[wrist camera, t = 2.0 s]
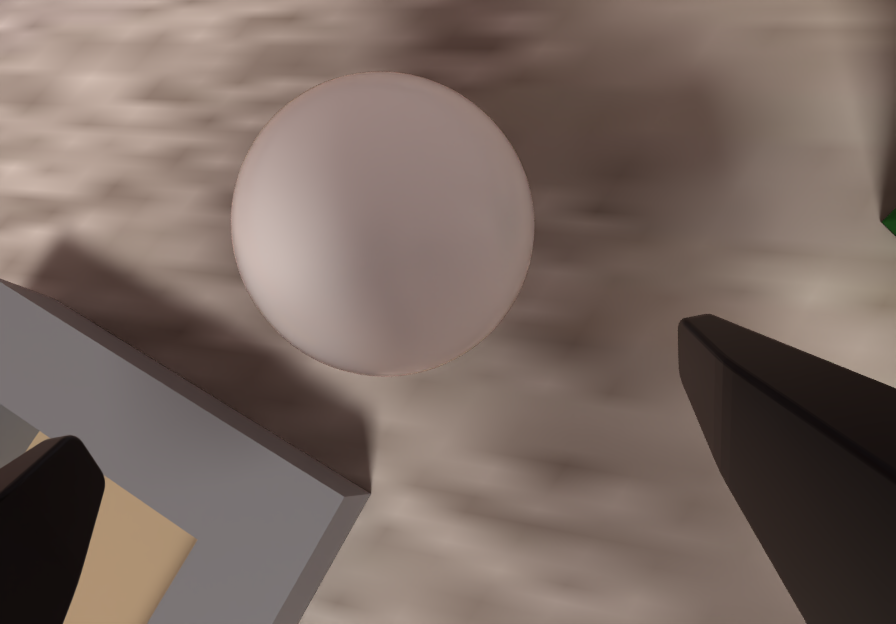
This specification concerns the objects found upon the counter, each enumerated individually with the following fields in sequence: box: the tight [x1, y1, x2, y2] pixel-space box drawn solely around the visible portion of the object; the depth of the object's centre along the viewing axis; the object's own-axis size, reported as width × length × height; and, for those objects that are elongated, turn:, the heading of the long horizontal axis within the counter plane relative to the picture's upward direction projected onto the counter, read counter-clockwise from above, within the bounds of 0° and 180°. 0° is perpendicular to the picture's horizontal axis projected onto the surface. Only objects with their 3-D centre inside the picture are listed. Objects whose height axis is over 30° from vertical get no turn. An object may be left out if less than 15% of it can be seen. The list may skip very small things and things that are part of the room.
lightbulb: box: [231, 71, 535, 377], centre depth 16 cm, size 6×6×11 cm
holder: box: [0, 279, 370, 624], centre depth 19 cm, size 14×14×3 cm
